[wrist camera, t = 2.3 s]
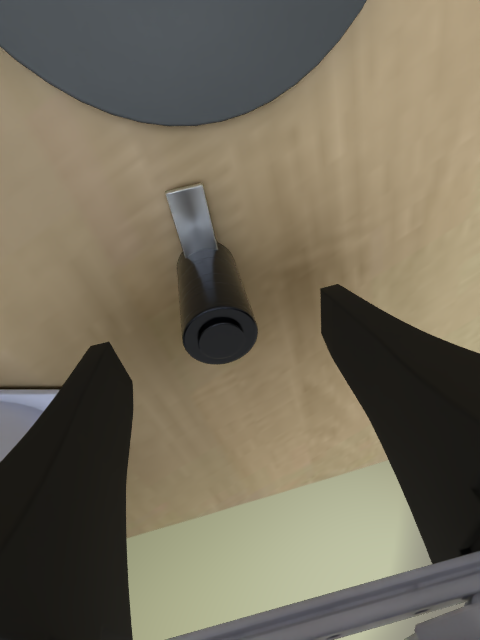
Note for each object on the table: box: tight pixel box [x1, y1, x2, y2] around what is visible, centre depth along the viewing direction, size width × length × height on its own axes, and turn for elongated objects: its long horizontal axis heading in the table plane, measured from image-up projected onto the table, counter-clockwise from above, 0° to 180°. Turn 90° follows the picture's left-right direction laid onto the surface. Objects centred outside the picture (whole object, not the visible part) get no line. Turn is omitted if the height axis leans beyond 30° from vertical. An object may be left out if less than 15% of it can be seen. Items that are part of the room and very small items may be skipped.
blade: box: [165, 183, 258, 364], centre depth 13 cm, size 8×3×5 cm, turn 10°
